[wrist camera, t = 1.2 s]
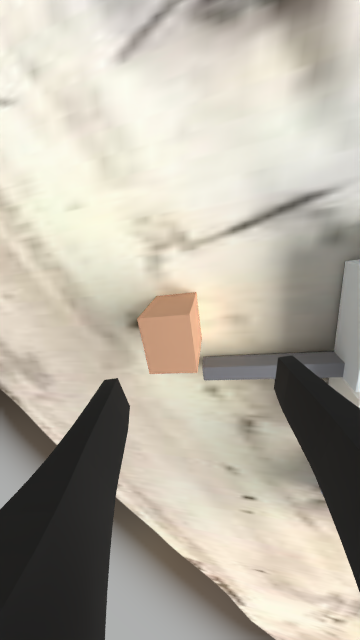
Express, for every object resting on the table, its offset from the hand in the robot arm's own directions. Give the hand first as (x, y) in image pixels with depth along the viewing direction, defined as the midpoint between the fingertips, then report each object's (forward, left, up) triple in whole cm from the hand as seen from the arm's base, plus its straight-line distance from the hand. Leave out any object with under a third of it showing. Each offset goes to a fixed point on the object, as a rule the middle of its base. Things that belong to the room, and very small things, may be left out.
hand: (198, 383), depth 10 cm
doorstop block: (-2, +3, -13) cm, 13 cm away
